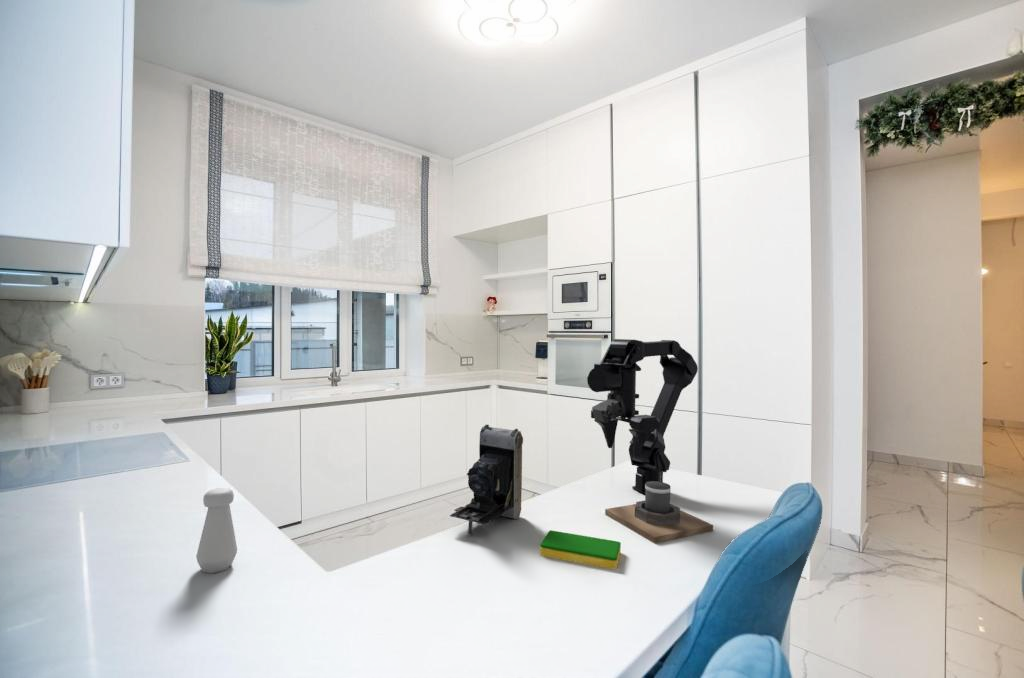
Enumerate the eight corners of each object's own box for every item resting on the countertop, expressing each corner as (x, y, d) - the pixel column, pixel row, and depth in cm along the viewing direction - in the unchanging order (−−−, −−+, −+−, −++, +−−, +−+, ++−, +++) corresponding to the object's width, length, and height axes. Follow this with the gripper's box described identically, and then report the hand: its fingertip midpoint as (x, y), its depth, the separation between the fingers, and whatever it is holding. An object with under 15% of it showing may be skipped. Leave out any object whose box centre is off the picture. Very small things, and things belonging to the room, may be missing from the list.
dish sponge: (549, 541, 93) (549, 529, 93) (620, 554, 88) (620, 541, 88) (539, 557, 86) (539, 544, 86) (616, 571, 81) (616, 558, 81)
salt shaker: (193, 579, 75) (195, 497, 74) (198, 563, 80) (199, 487, 80) (235, 571, 77) (237, 493, 77) (238, 556, 82) (239, 483, 82)
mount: (659, 505, 113) (659, 491, 113) (712, 530, 99) (713, 515, 99) (605, 514, 107) (605, 500, 107) (654, 543, 92) (655, 527, 92)
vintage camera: (446, 533, 95) (448, 437, 94) (485, 507, 109) (487, 422, 108) (487, 545, 91) (489, 444, 90) (522, 516, 104) (525, 428, 103)
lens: (657, 510, 106) (658, 480, 106) (675, 519, 101) (676, 487, 101) (639, 514, 104) (640, 482, 104) (656, 523, 99) (657, 490, 99)
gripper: (574, 386, 121) (573, 447, 121) (625, 396, 104) (624, 465, 104) (608, 385, 126) (607, 442, 126) (661, 393, 110) (659, 459, 110)
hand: (622, 452), depth 117 cm, fingers open, 9 cm apart
